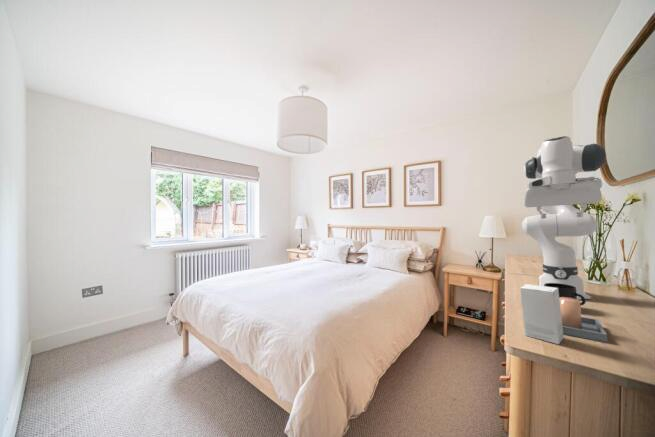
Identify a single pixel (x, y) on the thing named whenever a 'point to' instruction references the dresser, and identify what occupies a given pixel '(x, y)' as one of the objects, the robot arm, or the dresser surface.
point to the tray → (588, 330)
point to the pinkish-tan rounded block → (570, 312)
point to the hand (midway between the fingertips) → (561, 217)
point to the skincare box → (542, 313)
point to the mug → (566, 291)
